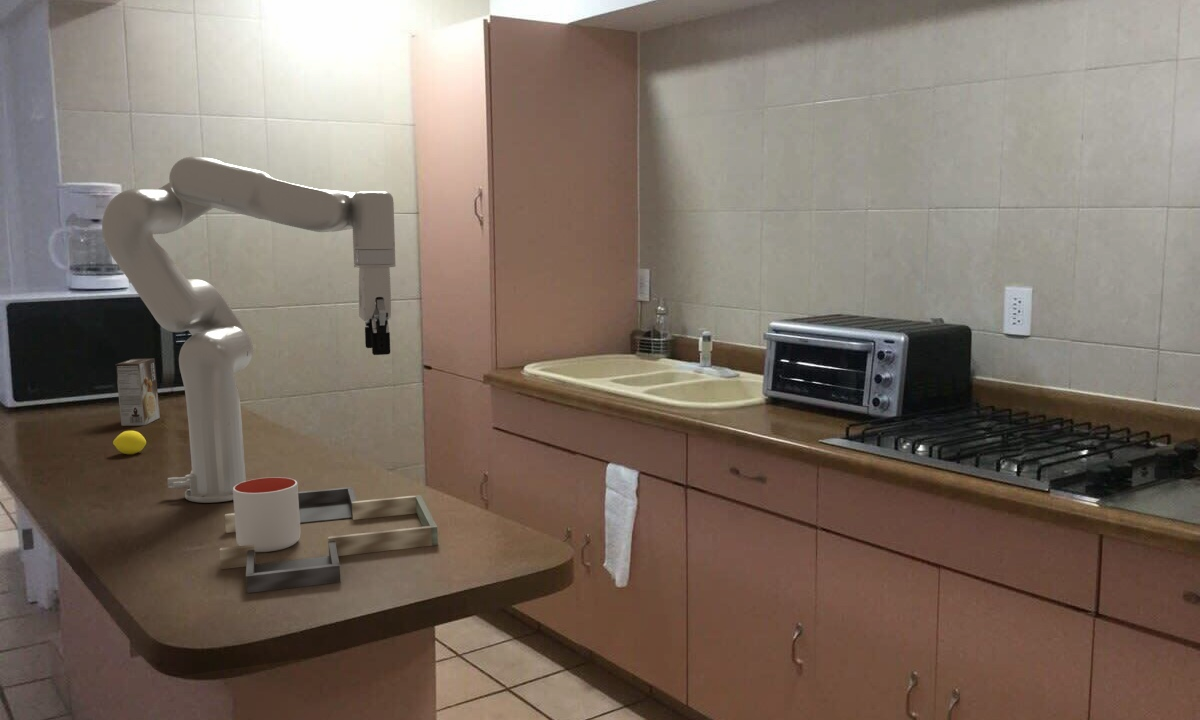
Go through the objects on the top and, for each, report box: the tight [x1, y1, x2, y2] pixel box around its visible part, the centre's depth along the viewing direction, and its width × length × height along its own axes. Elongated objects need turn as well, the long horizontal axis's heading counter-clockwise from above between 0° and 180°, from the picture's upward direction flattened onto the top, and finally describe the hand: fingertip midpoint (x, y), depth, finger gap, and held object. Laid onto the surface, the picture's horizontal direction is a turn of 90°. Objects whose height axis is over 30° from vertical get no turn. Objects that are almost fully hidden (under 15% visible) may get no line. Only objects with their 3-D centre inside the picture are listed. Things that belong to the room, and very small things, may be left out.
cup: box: [232, 476, 302, 553], centre depth 171 cm, size 10×10×10 cm
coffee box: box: [115, 358, 161, 427], centre depth 272 cm, size 9×6×16 cm
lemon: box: [112, 430, 147, 455], centre depth 238 cm, size 7×5×5 cm
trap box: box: [219, 486, 439, 594], centre depth 175 cm, size 33×44×3 cm
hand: (377, 350), depth 197 cm, fingers open, 9 cm apart
